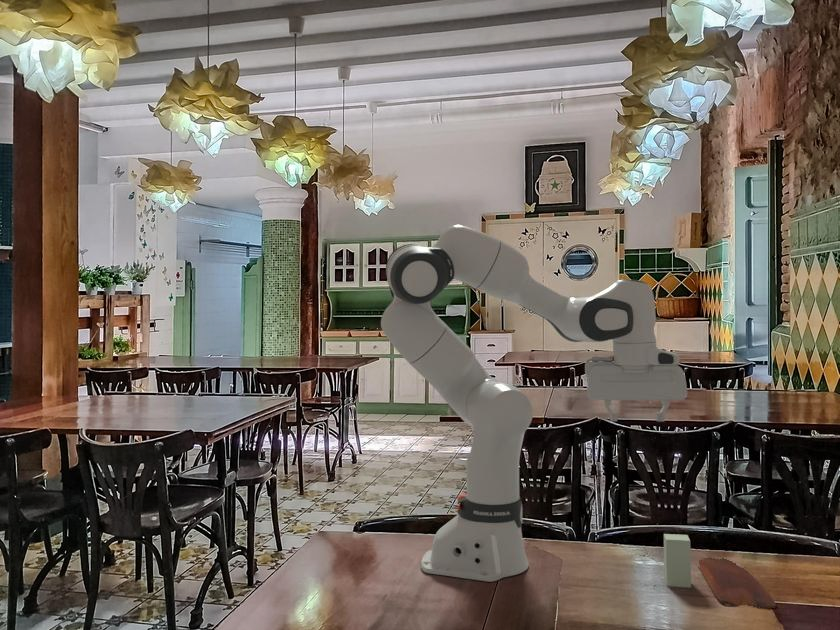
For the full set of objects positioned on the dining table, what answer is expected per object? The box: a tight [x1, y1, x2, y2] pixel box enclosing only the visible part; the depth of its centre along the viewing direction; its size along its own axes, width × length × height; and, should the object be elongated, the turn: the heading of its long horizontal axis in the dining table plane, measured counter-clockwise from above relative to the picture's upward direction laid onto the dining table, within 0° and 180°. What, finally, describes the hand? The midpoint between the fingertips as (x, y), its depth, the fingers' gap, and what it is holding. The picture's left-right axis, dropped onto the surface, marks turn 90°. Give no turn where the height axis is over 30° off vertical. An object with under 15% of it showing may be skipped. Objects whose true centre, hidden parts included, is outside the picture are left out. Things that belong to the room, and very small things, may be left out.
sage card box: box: [663, 533, 692, 589], centre depth 134 cm, size 4×3×9 cm
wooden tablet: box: [699, 557, 777, 610], centre depth 135 cm, size 27×10×2 cm, turn 169°
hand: (636, 421), depth 146 cm, fingers open, 8 cm apart
